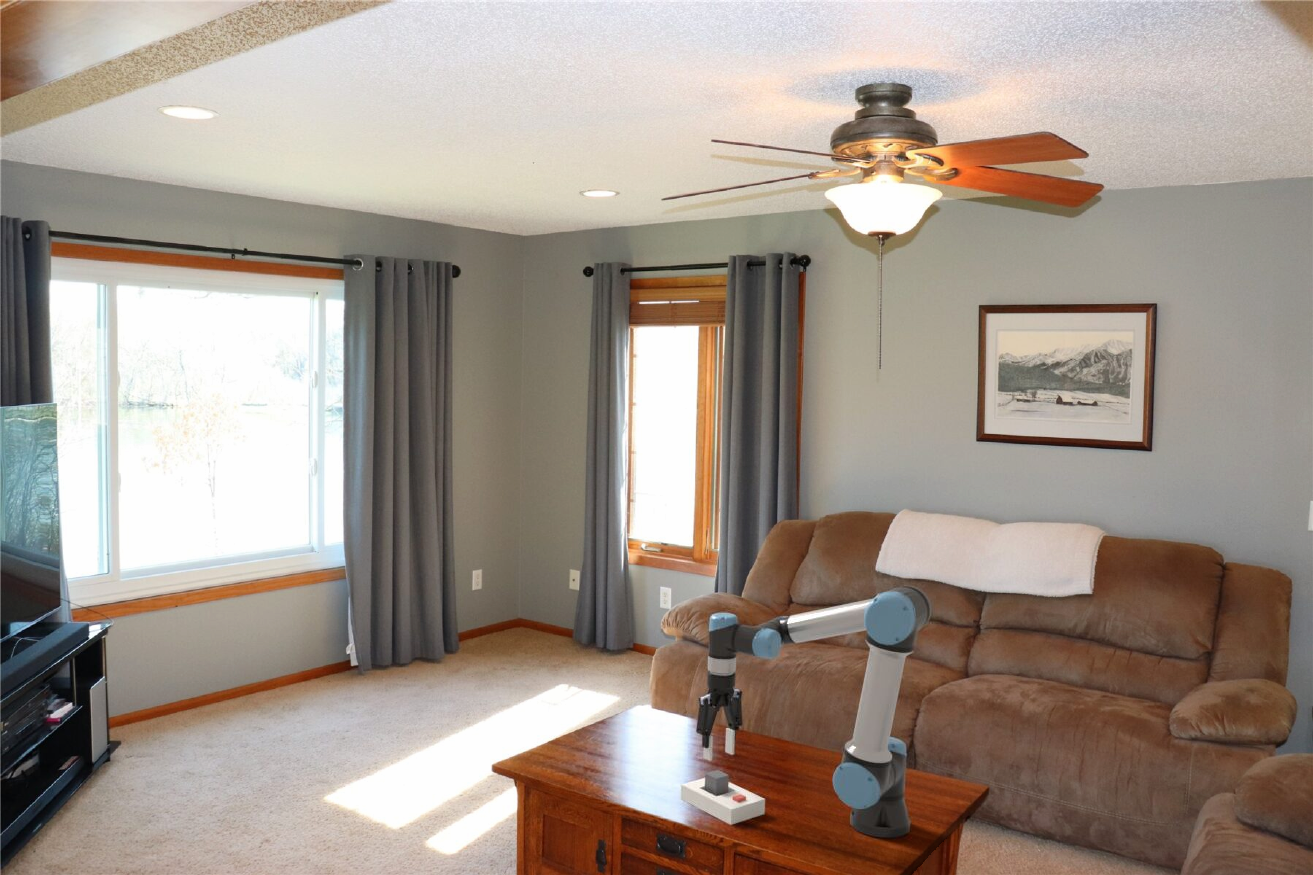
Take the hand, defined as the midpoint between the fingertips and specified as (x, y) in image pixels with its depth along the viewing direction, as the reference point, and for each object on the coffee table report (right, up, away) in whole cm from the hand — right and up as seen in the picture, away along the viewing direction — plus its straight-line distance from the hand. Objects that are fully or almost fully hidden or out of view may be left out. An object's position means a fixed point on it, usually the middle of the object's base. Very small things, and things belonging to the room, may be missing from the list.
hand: (718, 755), depth 279 cm
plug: (-1, -13, +1) cm, 13 cm away
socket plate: (+1, -13, -1) cm, 13 cm away
